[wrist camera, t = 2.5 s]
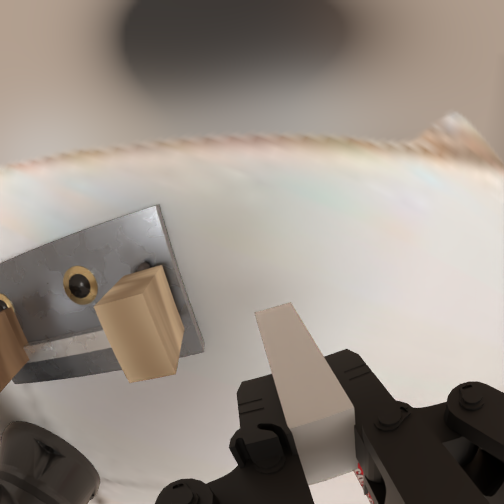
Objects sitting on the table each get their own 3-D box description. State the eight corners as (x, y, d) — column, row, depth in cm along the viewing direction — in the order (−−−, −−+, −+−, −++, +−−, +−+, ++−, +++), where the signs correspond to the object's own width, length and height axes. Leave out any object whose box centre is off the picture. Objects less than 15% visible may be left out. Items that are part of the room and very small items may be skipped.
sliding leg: (149, 332, 22) (129, 382, 16) (124, 267, 21) (90, 299, 14) (185, 324, 22) (175, 374, 16) (162, 256, 21) (139, 286, 15)
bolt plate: (20, 377, 24) (10, 389, 21) (-25, 274, 21) (-39, 281, 19) (204, 343, 25) (203, 358, 23) (159, 204, 22) (152, 206, 20)
